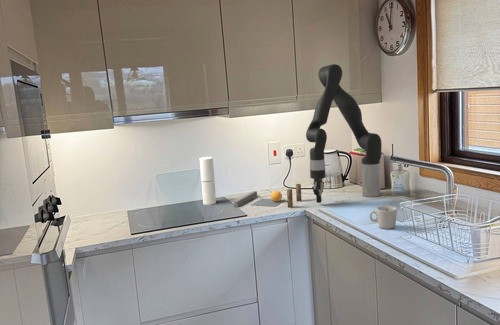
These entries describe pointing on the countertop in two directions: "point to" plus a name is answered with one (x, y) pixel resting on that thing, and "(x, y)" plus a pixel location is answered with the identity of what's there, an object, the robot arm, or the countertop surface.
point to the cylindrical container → (207, 180)
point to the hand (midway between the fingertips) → (319, 202)
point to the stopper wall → (245, 199)
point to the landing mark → (267, 202)
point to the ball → (276, 196)
